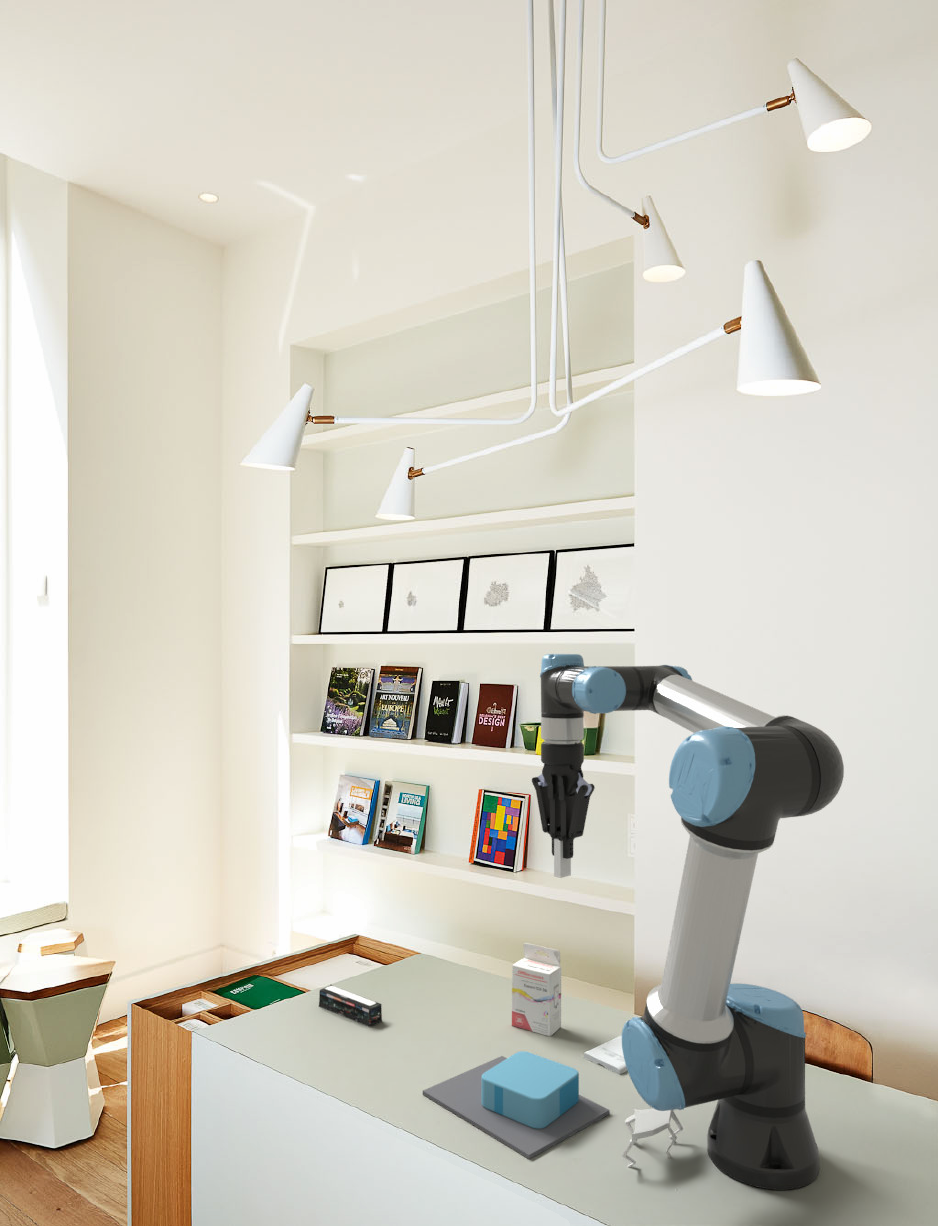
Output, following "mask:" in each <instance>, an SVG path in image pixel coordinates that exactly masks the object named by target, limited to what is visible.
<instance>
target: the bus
mask: <svg viewBox="0 0 938 1226" xmlns="http://www.w3.org/2000/svg"><path fill="white" fill-rule="evenodd" d="M318 995H319V998H318V1000H319V1001H318V1008H319V1007H320V1008H323V1009H325V1010H327V1011H329V1012H331V1013H335V1014H338V1015H340V1016H342V1017H345V1018H347V1019H350V1020H351V1021H354V1022H357V1023H359V1024H361V1025H364V1026H366V1027H373V1026H376V1025H378V1024H379V1023H381V1022H382V1021H383V1014H382V1003H380V1002H378V1001H374V1000H373V999H369V998H367V997H364V996H362V995H359V994H357V993H354V992H351V991H349V990H346V989H343V988H340V987H338V986H336V985H335V986H334V985H332V984H330V985H328V986H326V987H323V988H321V989H319V994H318Z"/></svg>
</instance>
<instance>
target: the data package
mask: <svg viewBox="0 0 938 1226" xmlns="http://www.w3.org/2000/svg"><path fill="white" fill-rule="evenodd" d="M506 1058H507V1059H506V1060H504V1061H502V1062H501V1063H499V1064H498V1065H496V1066H494V1067H493V1068H491V1069H490V1070H488V1071H486V1072H485V1073H483V1074H482V1089H481V1103H482V1106H483V1107H485V1108H486V1109H489V1110H491V1111H494V1112H496V1113H498V1114H501V1115H503V1116H505V1117H508V1118H510V1119H513V1120H515V1121H517V1122H520V1123H522V1124H524V1125H527V1126H529V1127H532V1128H535V1129H542V1128H545V1127H546V1126H548V1125H549V1124H550V1123H552V1122H553V1121H554V1120H555V1119H557V1118H558V1117H559V1116H561V1115H562V1114H563V1113H565V1112H566V1111H567V1110H568V1109H570V1108H571V1107H572V1106H574V1105H575V1104H576V1103H577V1102H578V1101H579V1095H580V1094H579V1092H580V1085H579V1082H580V1080H579V1078H580V1076H579V1075H580V1074H579V1071H578V1070H577V1069H576V1068H574V1067H571V1066H569V1065H566V1064H563V1063H560V1062H557V1061H555V1060H551V1059H549V1058H546V1057H544V1056H541V1055H537V1054H535V1053H533V1052H532V1053H531V1052H529V1051H525V1050H524V1051H522V1050H521V1051H518V1052H515V1053H514V1054H512V1055H510V1056H509V1057H506Z"/></svg>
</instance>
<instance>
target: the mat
mask: <svg viewBox="0 0 938 1226" xmlns="http://www.w3.org/2000/svg"><path fill="white" fill-rule="evenodd" d="M507 1058H508V1057H505V1056H503V1055H501V1056H499V1057H496V1058H494V1059H491V1060H489V1061H487V1062H485V1063H482V1064H481V1065H478V1066H475V1067H473V1068H472V1069H469V1070H467V1071H464V1072H462V1073H459V1074H458V1075H455V1076H453V1077H451V1078H448V1079H446V1080H444V1081H442V1082H438V1083H437V1084H434V1085H432V1086H430V1087H428V1088H425V1089H423V1090H422V1095H423V1096H424V1097H426V1098H428V1099H429V1100H431V1101H433V1102H434V1103H435V1104H438V1105H440V1106H441V1107H443V1108H444V1109H446V1110H447V1111H449V1112H451V1113H452V1114H454V1115H456V1116H457V1117H459V1118H461V1119H462V1120H464V1121H465V1122H467V1123H468V1124H470V1125H472V1126H474V1127H475V1128H477V1129H479V1130H480V1131H481V1132H484V1133H486V1134H487V1135H489V1136H490V1137H492V1138H493V1139H495V1140H497V1142H500V1143H502V1144H503V1145H504V1146H507V1147H509V1148H510V1149H512V1150H513V1151H515V1152H517V1153H518V1154H520V1155H522V1156H523V1157H525V1158H526V1159H528V1160H531V1159H532V1158H533V1157H536V1156H537V1155H539V1154H541V1153H543V1152H544V1151H547V1150H548V1149H550V1148H552V1147H553V1146H556V1145H557V1144H559V1143H561V1142H562V1141H564V1140H565V1139H568V1138H570V1137H571V1136H573V1135H575V1134H576V1133H579V1132H580V1131H581V1130H583V1129H585V1128H587V1127H589V1126H590V1125H592V1124H594V1123H596V1122H597V1121H600V1120H601V1119H603V1118H604V1117H607V1116H608V1115H610V1114H611V1113H610V1109H608V1108H606V1107H605V1106H603V1105H600V1104H598V1102H597V1103H596V1102H595V1101H593V1100H590V1099H589V1098H586V1097H585V1096H582V1095H581V1094H579V1101H578V1102H577V1103H576V1104H575V1105H574V1106H572V1107H571V1108H570V1109H568V1110H567V1111H566V1112H565V1113H563V1114H562V1115H561V1116H559V1117H558V1118H557V1119H555V1120H554V1121H553V1122H552V1123H550V1124H549V1125H548V1126H546V1127H545V1128H542V1129H535V1128H532V1127H529V1126H527V1125H524V1124H522V1123H520V1122H517V1121H515V1120H513V1119H510V1118H508V1117H505V1116H503V1115H501V1114H498V1113H496V1112H494V1111H491V1110H489V1109H486V1108H485V1107H483V1106H482V1103H481V1089H482V1074H483V1073H485V1072H486V1071H488V1070H490V1069H491V1068H493V1067H494V1066H496V1065H498V1064H499V1063H501V1062H502V1061H504V1060H506V1059H507Z"/></svg>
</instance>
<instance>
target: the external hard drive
mask: <svg viewBox="0 0 938 1226" xmlns="http://www.w3.org/2000/svg"><path fill="white" fill-rule="evenodd" d="M582 1056H583V1057H582V1058H583V1059H586V1060H588V1061H590V1062H591V1063H594V1064H596V1065H599V1066H602V1067H603V1068H605V1069H607V1070H608V1071H611V1072H613V1073H615V1074H617V1075H618V1076H619V1075H622V1074H623V1073H626V1072H628V1070H627V1067H626V1064H625V1060H624V1056H623V1050H622V1034H621V1035H619V1036H617V1037H615V1038H613V1039H611V1040H608V1041H606V1042H604V1043H602V1044H600V1045H598V1046H595V1047H594V1048H591V1049H589V1050H587V1051H585V1052H583V1055H582Z"/></svg>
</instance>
